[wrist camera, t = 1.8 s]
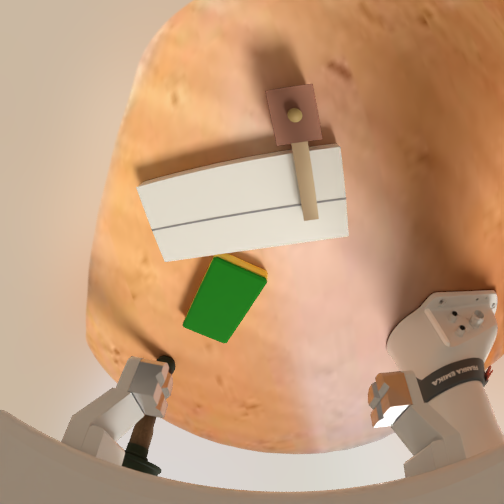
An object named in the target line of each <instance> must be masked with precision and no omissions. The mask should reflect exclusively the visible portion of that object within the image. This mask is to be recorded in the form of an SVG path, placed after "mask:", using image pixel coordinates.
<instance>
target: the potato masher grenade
mask: <svg viewBox="0 0 504 504" xmlns="http://www.w3.org/2000/svg"><path fill="white" fill-rule="evenodd" d="M157 361H159V362H165V363H168V366H169V370H168V372H169V373H170V374H171V375H172V374H173V372H174V370H175V362H174V360H173V359H171V358H170V357H167V356H161V357H159V358H158V359H157ZM155 420H156V417H155V416H150V415H145V414H144V417H142V418H141V419H140V420H139V421H138V422H137V423H136V425H135V426H134V429H133V432H132V435H131V438H130V441H129V443H128V446H127V448H126V450H124V451H125V455H124V459H123V463H122V466H123V467H126V468H129V469H133V470H136V471H139V472H143V473H147V474H150V475H154V476H157V475H158V474H160V473H161V469H160V468H159V467H157V466H156V465H154V464H152V463H150V462H148V459H147V458H146V457H147V454H148V448H149V445H150V442H151V439H152V435H153V427H154V423H155Z"/></svg>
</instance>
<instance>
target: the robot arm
mask: <svg viewBox="0 0 504 504" xmlns="http://www.w3.org/2000/svg"><path fill="white" fill-rule="evenodd" d="M496 308H497V294H496V292H495V291H494V290H482V291H460V292H436V293H433V294H431V295H430V296H429V297H428V298H427V299H426V300H425V302H424V303H423V304H422V305H421V307H419V308H418V309H417V310H416V311H414V312H413V313H411V314H410V315H408V316H407V317H406V318H405V319H403V320H402V321H401V322H400V323H399V324H398V325H397V326H396V327H395V329H394V330H393V331H392V333H391V335H390V337H389V339H388V342H387V352H388V354H389V355H390V356H391V358H392V359H393V361H394V362H395V364H396V365H397V367H398V369H399V371H397V372H387V373H379V374H378V375H377V376H376V378H375V379H376V382H374V383H373V384H371V386H370V388H369V392H368V403H369V406H370V407H371V408H372V409H373V411H372V412H371V420H372V426H373V428H375V427H385V426H391V428H392V429H393V430H394V431H395V433H396V434H397V435H398V436H399V438H400V439H401V440H402V442H403V443H404V444H405V445H406V447H407V448H408V449H409V450H410V452H411V453H412V454H413V455H414V456H413V457H412V458H410V459H409V460H408V461H406V462H405V464H404V470H405V478H403V479H398V480H394V481H389V482H384V483H379V484H373V485H367V486H361V487H353V488H346V489H336V490H325V491H307V492H264V491H263V492H262V491H247V490H234V489H225V488H216V487H210V486H203V485H196V484H191V483H186V482H181V481H175V480H171V479H166V478H162V477H158V476H154V475H150V474H147V473H143V472H139V471H136V470H133V469H129V468H126V467H123V466H122V463H123V459H124V455H125V451H124V449H122V448H121V447H120V446H119V445H118V444H117V443H116V441H117V440H119V439H120V438H121V437H122V436H123V435H124V434H125V433H126V432H127V431H128V430H129V429H131V428H132V427H133V426H134V425H135V424H136V423H137V422H138V421H139V420H140V419H141V418H142V417H144V414H145V415H150V416H155V417H160V418H164V417H165V413H166V410H167V406H168V404H167V401H166V399H167V398H168V397H169V396H170V395H171V392H172V386H173V379H172V375H171V374H170V373H169V372H168V370H169V366H168V363H165V362H159V361H154V360H148V359H144V358H139V357H134V356H131V357H130V358H129V359H128V361H127V363H126V365H125V368H124V370H123V372H122V374H121V377H120V379H119V382H118V384H117V386H116V388H112V389H110V390H109V391H107V392H106V393H104V394H103V395H102V396H100V397H99V398H97V399H96V400H94V401H93V402H92V403H90V404H89V405H87V406H86V407H84V408H83V409H81V410H80V411H79V412H77V413H76V414H74V415H73V416H72V418H71V420H70V422H69V425H68V427H67V429H66V432H65V434H64V437H63V439H62V441H61V442H60V441H58V440H56V439H54V438H52V437H50V436H48V435H46V434H44V433H42V432H40V431H38V430H36V429H35V428H33V427H31V426H29V425H28V424H26V423H24V422H23V421H21V420H19V419H17V418H16V417H14V416H13V415H11V414H10V413H8V412H6V411H4V410H0V504H504V434H503V433H502V431H501V429H500V427H499V425H498V423H497V420H496V418H495V415H494V412H493V410H492V407H491V405H490V402H489V399H488V397H487V394H486V392H485V389H484V386H485V385H486V384H487V382H488V378H489V376H490V375H491V373H492V372H493V370H492V371H491V372H490V369H491V366H489V368H488V369H487V371H486V373H485V371H484V362H485V361H486V359H487V357H488V355H489V352H490V350H491V348H492V346H493V344H494V341H495V339H496V335H497V329H498V327H497V321H496V318H495V312H496ZM489 372H490V373H489Z"/></svg>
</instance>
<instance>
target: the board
mask: <svg viewBox="0 0 504 504" xmlns="http://www.w3.org/2000/svg"><path fill="white" fill-rule="evenodd" d="M309 153H310V159H311V165H312V172H313V179H314V186H315V193H316V200H317V208H318V216H319V219H315V220H308V221H304V218H303V212H302V205H301V199H300V193H299V187H298V180H297V175H296V169H295V163H294V157H293V152H292V149H291V150H285V151H279V152H273V153H267V154H261V155H256V156H250V157H245V158H240V159H235V160H230V161H225V162H221V163H216V164H211V165H207V166H203V167H198V168H194V169H190V170H186V171H182V172H178V173H174V174H170V175H166V176H162V177H159V178H155V179H151V180H148V181H144V182H143V183H141V184H140V185H139V186H137V187H136V188H137V191H138V193H139V196H140V199H141V202H142V205H143V207H144V210H145V213H146V215H147V218H148V221H149V223H150V226H151V228H152V231H153V234H154V236H155V239H156V241H157V244H158V246H159V249H160V251H161V254H162V256H163V258H164V261H165V262H169V261H176V260H183V259H190V258H197V257H204V256H211V255H218V254H225V253H232V252H239V251H246V250H253V249H260V248H267V247H275V246H282V245H289V244H296V243H303V242H310V241H317V240H325V239H332V238H339V237H346V236H349V234H348V218H347V205H346V193H345V183H344V173H343V164H342V156H341V148H340V146H339V145H338V144H337V143H336V144H327V145H319V146H312V147H309Z"/></svg>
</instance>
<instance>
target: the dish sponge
mask: <svg viewBox="0 0 504 504" xmlns="http://www.w3.org/2000/svg"><path fill="white" fill-rule="evenodd" d="M267 274H268V273H267V271H266V270H264V269H262V268H259V267H257V266H255V265H253V264H250V263H248V262H246V261H244V260H241V259H239V258H237V257H235V256H232V255H230V254H228V253H225V254H218V255H214V256H213V258H212V260H211V263H210V265H209V267H208V269H207V271H206V273H205V275H204V277H203V280H202V282H201V284H200V286H199V288H198V290H197V293H196V295H195V297H194V299H193V301H192V304H191V306H190V308H189V310H188V312H187V315H186V317H185V320H184V322H183V326H184V327H185V328H187V329H190V330H192V331H194V332H197V333H199V334H202V335H204V336H207V337H209V338H212V339H214V340H217V341H219V342H222V343H227V342H228V340H229V339H230V337H231V336H232V334H233V333H234V331H235V330H236V328H237V327H238V325H239V324H240V322H241V321H242V319H243V318H244V316H245V315H246V313H247V312H248V310H249V309H250V307H251V306H252V304H253V303H254V301H255V300H256V298H257V297H258V295H259V294H260V292H261V291H262V289H263V288H264V286H265V285H266V283H267Z"/></svg>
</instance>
